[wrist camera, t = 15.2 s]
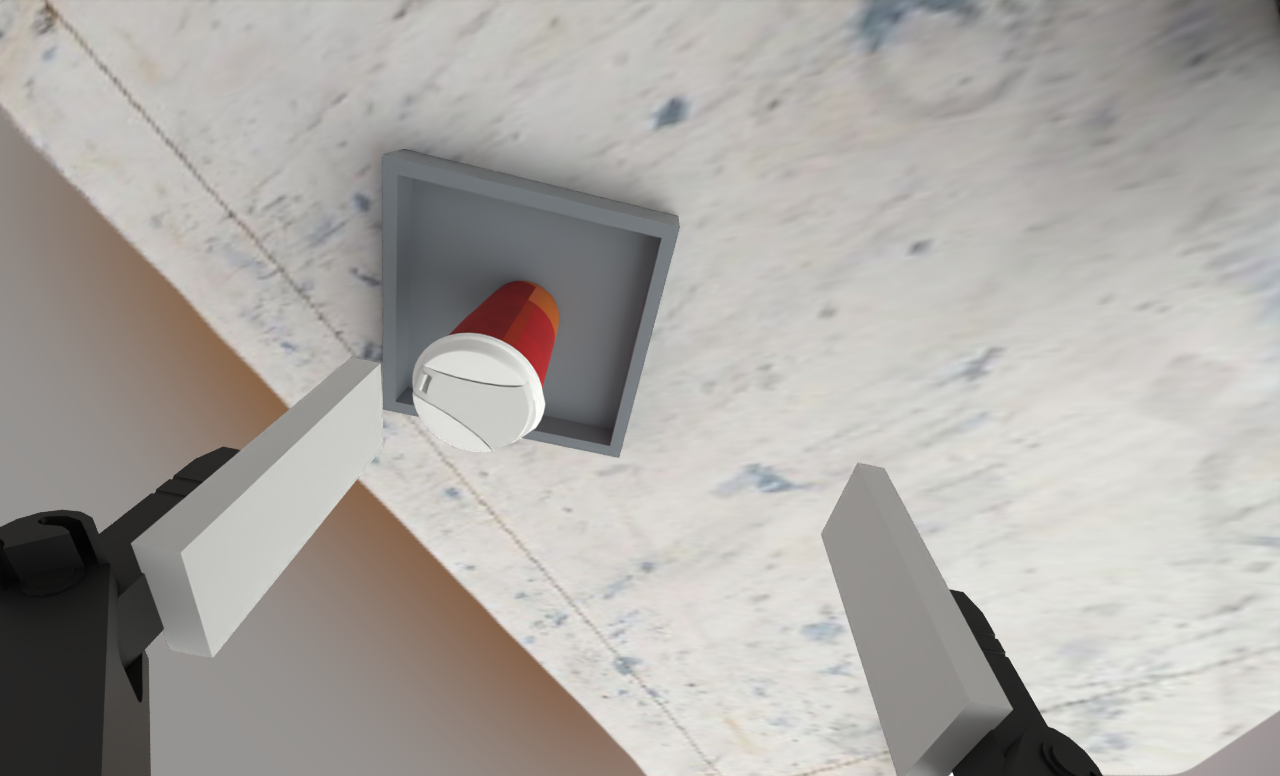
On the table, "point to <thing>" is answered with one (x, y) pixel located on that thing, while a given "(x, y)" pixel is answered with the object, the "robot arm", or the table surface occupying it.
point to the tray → (523, 251)
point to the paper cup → (489, 370)
